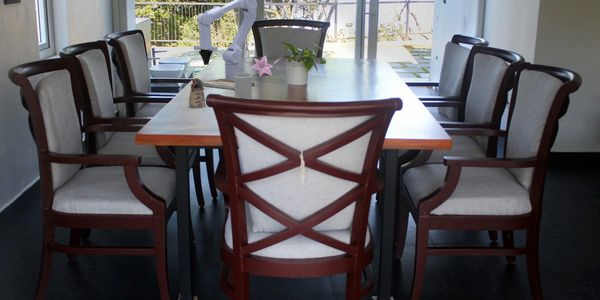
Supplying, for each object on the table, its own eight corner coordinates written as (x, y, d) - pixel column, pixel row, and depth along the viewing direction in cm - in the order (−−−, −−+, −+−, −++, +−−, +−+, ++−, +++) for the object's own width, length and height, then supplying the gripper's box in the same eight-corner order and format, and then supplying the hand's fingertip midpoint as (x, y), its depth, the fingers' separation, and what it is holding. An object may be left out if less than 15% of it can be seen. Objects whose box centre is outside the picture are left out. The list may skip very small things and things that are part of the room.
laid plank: (220, 81, 360) (220, 78, 360) (254, 85, 348) (254, 82, 348) (212, 83, 355) (212, 80, 355) (246, 86, 343) (245, 83, 342)
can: (242, 97, 316) (241, 71, 313) (255, 99, 312) (254, 72, 309) (231, 100, 310) (230, 73, 307) (244, 101, 306) (243, 74, 303)
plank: (211, 83, 354) (210, 80, 354) (244, 87, 342) (244, 84, 342) (201, 85, 349) (201, 82, 348) (235, 89, 337) (235, 86, 336)
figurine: (209, 105, 297) (208, 77, 294) (196, 108, 292) (195, 79, 289) (198, 104, 302) (197, 76, 299) (185, 106, 297) (184, 78, 294)
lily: (247, 78, 381) (252, 63, 375) (250, 66, 390) (254, 52, 385) (269, 84, 383) (274, 69, 377) (270, 73, 392) (275, 58, 387)
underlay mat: (219, 82, 361) (219, 81, 360) (255, 85, 348) (255, 85, 348) (200, 86, 349) (199, 85, 349) (235, 90, 336) (235, 89, 336)
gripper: (189, 37, 353) (190, 64, 356) (210, 39, 345) (211, 66, 348) (198, 36, 358) (199, 63, 362) (220, 37, 350) (221, 65, 354)
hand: (206, 64), depth 355 cm, fingers closed
